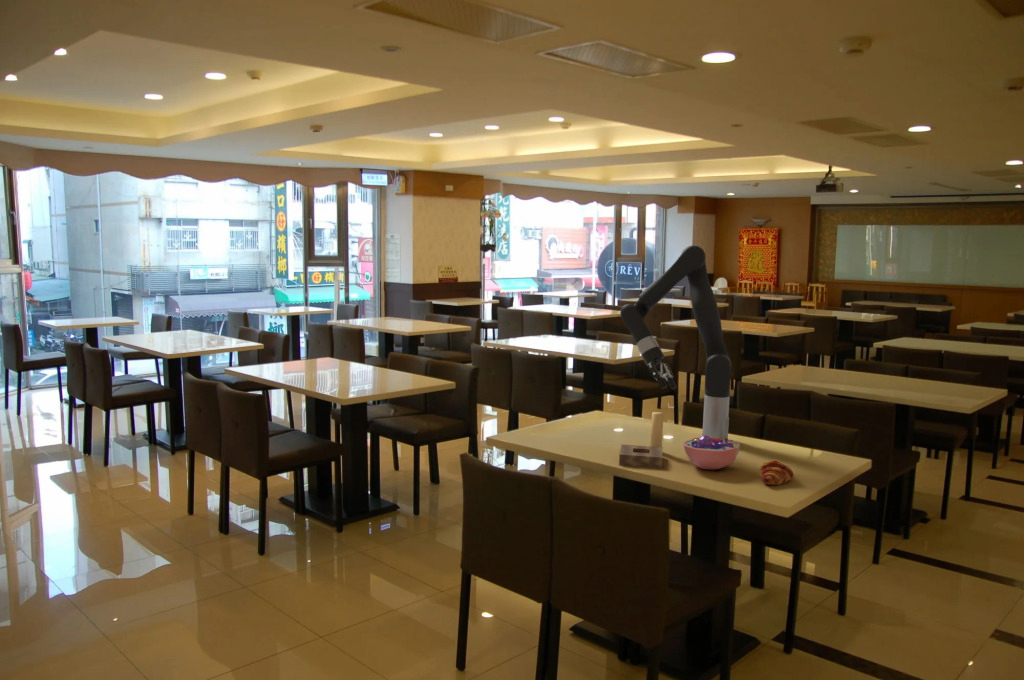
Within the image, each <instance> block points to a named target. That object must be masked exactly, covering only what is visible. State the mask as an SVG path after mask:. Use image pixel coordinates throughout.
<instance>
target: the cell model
mask: <svg viewBox="0 0 1024 680" xmlns="http://www.w3.org/2000/svg"><path fill="white" fill-rule="evenodd" d="M682 445H683V449H684V452H685V454H686V456H687V457H688V458H689V460H690V461H691V463H692V464H694V465H695V466H696V467H698V468H700V469H702V470H709V471H713V470H719V469H722V468H726V467H728V466H730V465H732V464H733V463H735V462H736V459H737V458H738V455H739V452H740V445H741V444H740V443H738V442H736V441H734V440H732V439H729V438H728V439H727V438H725V439H715V438H710V437H709V436H706V435H704V436H700V437H693V438H690V439H689V440H685V441H684V442H683V443H682Z"/></svg>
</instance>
